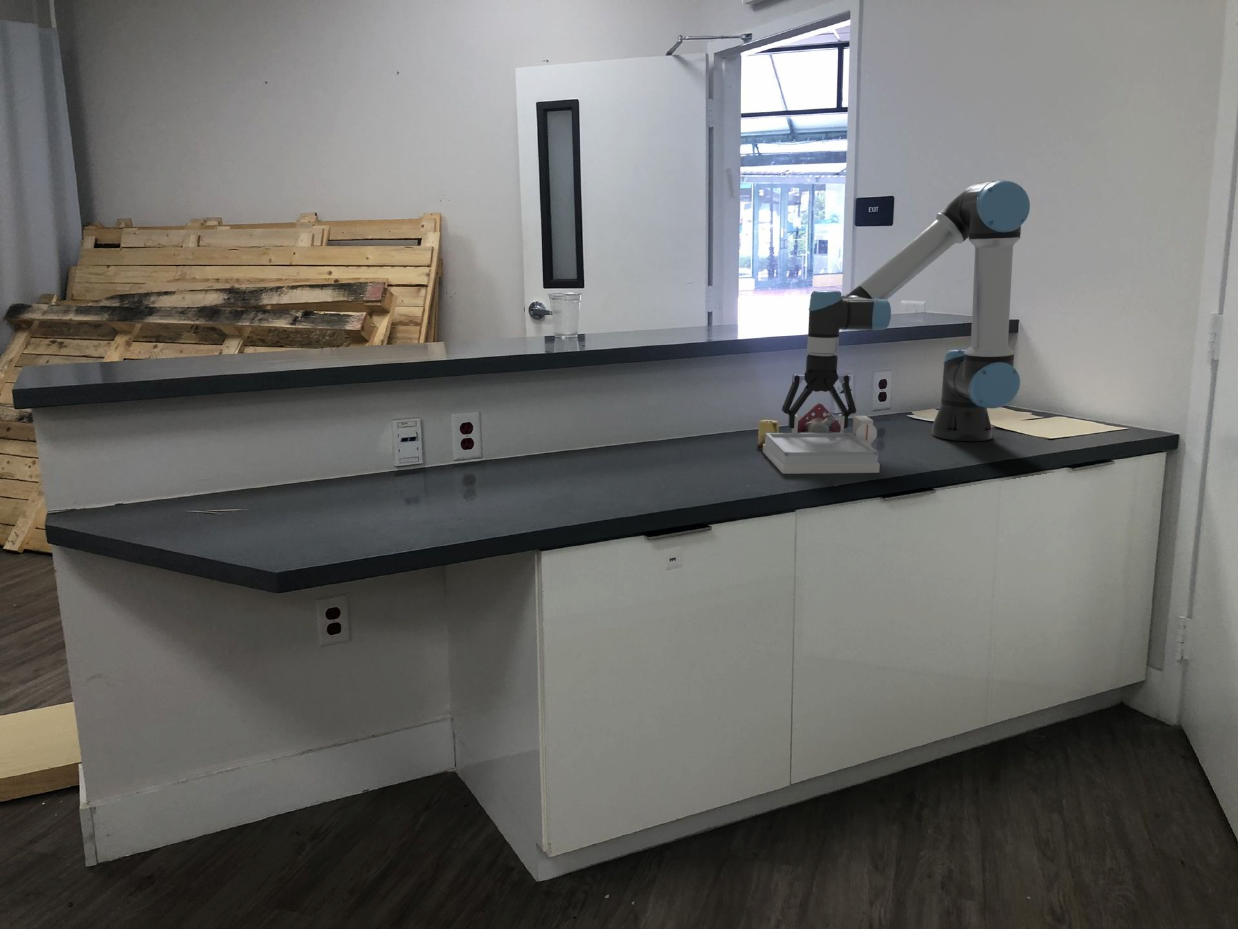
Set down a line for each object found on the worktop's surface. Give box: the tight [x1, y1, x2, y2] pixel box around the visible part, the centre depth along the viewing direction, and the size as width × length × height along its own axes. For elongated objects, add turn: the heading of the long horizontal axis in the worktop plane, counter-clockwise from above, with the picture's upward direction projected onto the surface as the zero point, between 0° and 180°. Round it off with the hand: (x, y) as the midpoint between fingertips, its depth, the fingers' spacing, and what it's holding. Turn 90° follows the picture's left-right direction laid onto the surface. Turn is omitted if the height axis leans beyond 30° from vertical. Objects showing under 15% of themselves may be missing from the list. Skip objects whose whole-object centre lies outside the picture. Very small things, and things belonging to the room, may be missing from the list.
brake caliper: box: [797, 403, 841, 433], centre depth 242 cm, size 11×11×12 cm
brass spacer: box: [757, 419, 780, 448], centre depth 245 cm, size 5×5×6 cm
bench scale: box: [762, 415, 881, 475], centre depth 227 cm, size 26×22×9 cm
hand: (817, 440), depth 243 cm, fingers closed on brake caliper, 11 cm apart
